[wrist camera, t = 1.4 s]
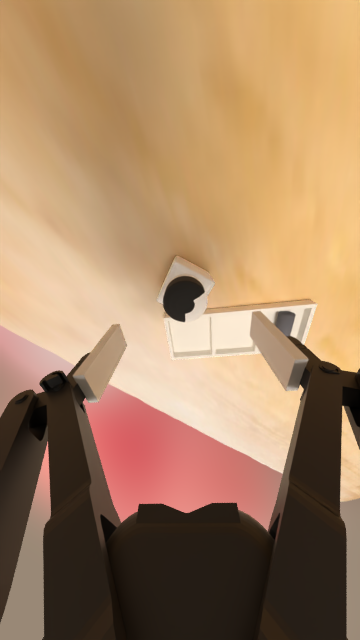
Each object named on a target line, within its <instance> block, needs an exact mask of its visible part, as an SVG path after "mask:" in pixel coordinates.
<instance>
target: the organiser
mask: <svg viewBox="0 0 360 640" xmlns="http://www.w3.org/2000/svg"><path fill="white" fill-rule="evenodd" d="M316 307H317V303H315V302H313V301H311V300H300V301H289V302H279V303H268V304H258V305H247V306H236V307H226V308H215V309H206V310H205V312H204V313H203V314H202V316H200V317H199V318H198V319H196V320H194V321H191V322H179V321H176V320H174V319H172V318H171V317H170V316H169V315H168V314H167V313H164V318H163V319H164V324H165V329H166V335H167V340H168V345H169V351H170V356H171V360H180V359H193V358H207V357H221V356H234V355H248V354H261V352H260V351H259V349H258V348H257V346H256V345H255V343H254V342H253V340H252V339H251V337H250V327H251V318H252V312H254V311H261V312H262V313H263V314H264V315H265V316H266V317H267V318H268V319H269V320H270V321H271V322H272V323H273V324H274V325H275V326H276V321H277V316H278V312H280V311H290V312H293V313H295V315H296V316H295V320H294V323H293V327H292V331H291V335H290V336H292V337H294V338H296V339H298V340H299V341H300V342H301V343H302V344H303V345H304V343H305V340H306V337H307V334H308V331H309V328H310V325H311V322H312V319H313V316H314V313H315V310H316Z"/></svg>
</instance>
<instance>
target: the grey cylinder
mask: <svg viewBox="0 0 360 640" xmlns="http://www.w3.org/2000/svg"><path fill="white" fill-rule="evenodd" d="M295 316H296V315H295V313H293V312H290V311H280V312H278V316H277V321H276V327H277V328H278V329H279V330H280V331H281V332H282V333H283V334H284V335H285V336H290V335H291V331H292V327H293V323H294V320H295Z"/></svg>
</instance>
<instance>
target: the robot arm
mask: <svg viewBox="0 0 360 640" xmlns="http://www.w3.org/2000/svg"><path fill="white" fill-rule="evenodd" d="M250 337H251V339H252V340H253V342H254V343H255V345H256V346H257V348H258V349H259V351H260V352H261V354H262V355H263V357H264V358H265V360H266V361H267V363H268V365H269V366H270V368H271V369H272V371H273V372H274V374H275V375H276V377H277V378H278V380H279V381H280V383H281V384H282V386H283V387H284V389H285V391H294V390H298V388H299V385H301V386H302V387H303V388H304V391H303V393H302V396H301V399H300V400H301V402H300V406H299V410H298V414H297V418H296V422H295V426H294V431H293V435H292V439H291V443H290V447H289V451H288V455H287V459H286V463H285V468H284V472H283V476H282V480H281V484H280V488H279V492H278V497H277V500H276V504H275V507H274V511H273V514H272V517H271V521H270V525H269V529H268V532H267V530H266V529H265V528H264V527H263V526H262V525H261V524H260V523H259V522H257V521H256V520H255V519H254V518H252V517H251V516H249V515H248V514H246V513H244V512H242V511H240V510H238V507H237V503H212V504H209V505H206V506H204V507H202V508H199V509H197V510H195V511H192V512H190V513H184V512H181V511H179V510H176V509H174V508H171V507H169V506H166V505H164V504H139V507H138V512H136V513H134V514H132V515H131V516H129V517H128V518H127V519H126V520H124V521H123V522H122V523H121V522H120V519H119V517H118V514H117V512H116V510H115V508H114V505H113V502H112V499H111V496H110V492H109V489H108V485H107V482H106V478H105V475H104V471H103V468H102V465H101V461H100V458H99V454H98V451H97V447H96V444H95V440H94V437H93V434H92V430H91V427H90V424H89V420H88V416H87V413H86V409H85V406H84V404H83V401H84V399H85V397H86V399H87V400H88V402H99V400H100V398H101V396H102V394H103V392H104V390H105V388H106V386H107V384H108V382H109V380H110V378H111V377H112V375H113V373H114V371H115V369H116V367H117V365H118V363H119V361H120V359H121V357H122V355H123V353H124V351H125V349H126V347H127V344H126V342H125V339H124V336H123V333H122V330H121V327H120V324H115V325H112V326H111V327H110V328H109V330H108V331H107V332H106V334H105V335H104V336H103V337H102V339H101V340H100V341H99V342H98V344H97V345H96V346H95V348H94V349H93V350H92V351H91V353H87V354H86V355H85V356H83V357H82V358H81V359H80V361H79V363H77V364H76V366H75V367H74V368H73V369H72V370H71V372H70V373H69V374H68V375H67V377H66V375H65V374H64V373H63V371H55V372H52V373H50V374H49V375H47V376H45V377H44V378H43V379H42V380H41V381H40V386H41V387H42V388H43V390H44V391H45V392H42V393H38V394H36V393H35V392H34V391H33V390H26V391H24V392H22V393H19V394H18V395H16V396H15V397H14V398H13V399H12V400H11V401H10V402H9V403H8V405H7V407H6V409H5V410H4V412H3V414H2V416H1V417H0V622H1V619H2V616H3V613H4V610H5V606H6V603H7V599H8V595H9V592H10V588H11V585H12V581H13V577H14V573H15V569H16V565H17V561H18V557H19V553H20V549H21V545H22V541H23V537H24V533H25V529H26V525H27V521H28V517H29V513H30V509H31V505H32V501H33V497H34V493H35V489H36V485H37V481H38V477H39V474H40V470H41V465H42V461H43V458H44V453H45V450H46V446H47V441H48V449H49V473H50V497H51V517H50V520H49V521H48V522H47V523H46V525H45V528H44V536H43V556H44V557H43V558H44V637H43V639H42V640H348V639H347V637H346V528H345V523H344V521H343V520H342V519H341V517H340V476H341V432H342V405H343V406H344V408H345V411H346V414H347V416H348V419H349V422H350V425H351V427H352V430H353V433H354V435H355V438H356V441H357V444H358V446H359V449H360V369H359V370H358V372H357V373H355V372H348V371H342V370H341V369H340V368H339V367H337V366H335V365H334V364H331V363H329V362H325V361H321V360H320V359H319V358H318V357H317V356H315V355H314V354H313V353H312V352H311V351H310V350H309V349H307V347H306V346H305V345H303V344H302V343H301V342H300V341H299V340H298V339H296V338H294V337H292V336H285V335H284V334H283V333H282V332H281V331H280V330H279V329H278V328H277V327H276V326H275V325H274V324H273V323H272V322H271V321H270V320H269V319H268V318H267V317H266V316H265V315H264V314H263V313H262V312H261V311H254V312H252V318H251V327H250Z"/></svg>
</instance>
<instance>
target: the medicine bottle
mask: <svg viewBox="0 0 360 640" xmlns="http://www.w3.org/2000/svg"><path fill="white" fill-rule="evenodd" d="M214 285H215V281H214V280H213V278H212V276H211V275H210V273H209V272H208V271H206V270H204V269H202V268H200V267H198V266H196V265H195V264H193V263H191V262H189V261H187V260H185V259H183V258H182V257H180V256H178V255H177V256H175V258H174V260H173V263H172V265H171V267H170V269H169V271H168V274H167V276H166V278H165V280H164V282H163V285H162V287H161V289H160V292H159V294H158V297H157V302H159V303H161V304H163V307H164V309H165V311H166V313H167V314H168V315H169V316H170V317H171V318H172V319H174V320H176V321H179V322H191V321H194V320H196V319H198V318H199V317H200V316H202V314H203V313H204V312H205V310H206V308H207V303H208V300H207V296H208V294H209V293H210V291H211V290H212V288H213V286H214Z"/></svg>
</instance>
